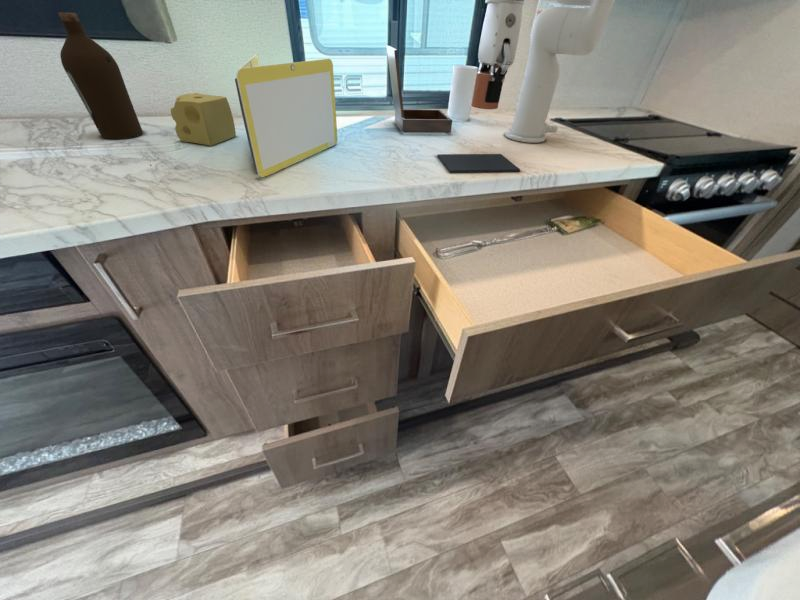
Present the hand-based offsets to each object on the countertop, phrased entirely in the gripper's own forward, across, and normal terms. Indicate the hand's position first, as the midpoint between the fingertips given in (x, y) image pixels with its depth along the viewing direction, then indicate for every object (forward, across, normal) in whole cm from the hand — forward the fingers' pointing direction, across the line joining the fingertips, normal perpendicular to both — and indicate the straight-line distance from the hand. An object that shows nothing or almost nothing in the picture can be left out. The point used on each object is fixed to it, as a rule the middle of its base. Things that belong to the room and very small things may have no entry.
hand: (486, 98), depth 77 cm
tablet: (+15, +8, +45) cm, 48 cm away
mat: (+14, -1, 0) cm, 14 cm away
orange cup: (+2, 0, 0) cm, 2 cm away
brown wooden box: (+14, +33, +7) cm, 36 cm away
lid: (+1, +33, +16) cm, 36 cm away
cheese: (+15, +20, +69) cm, 73 cm away
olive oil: (+15, +24, +92) cm, 96 cm away
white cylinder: (+14, +47, -10) cm, 50 cm away
